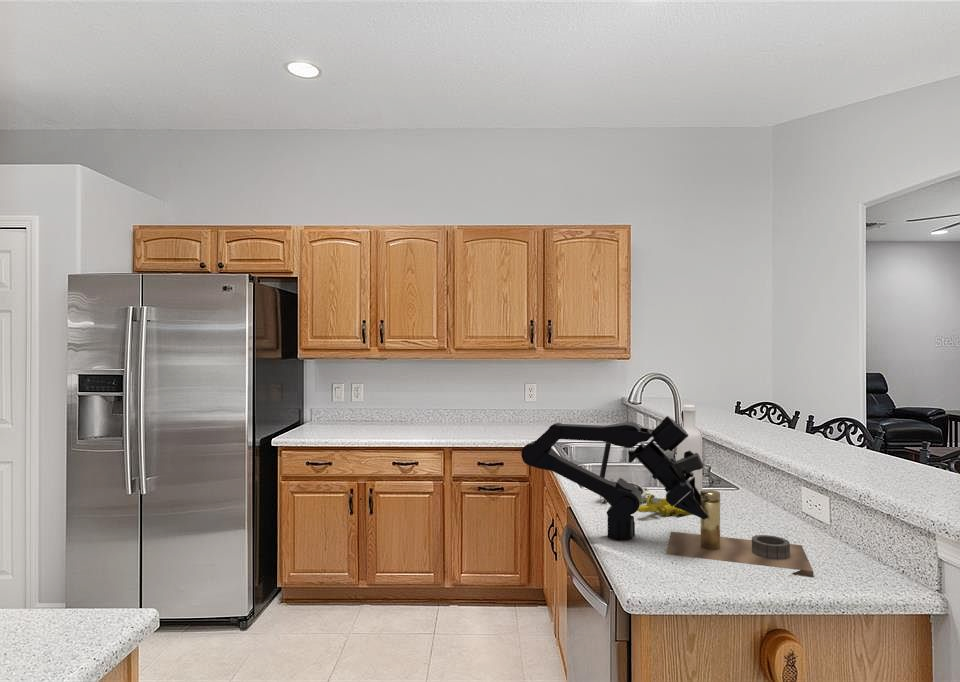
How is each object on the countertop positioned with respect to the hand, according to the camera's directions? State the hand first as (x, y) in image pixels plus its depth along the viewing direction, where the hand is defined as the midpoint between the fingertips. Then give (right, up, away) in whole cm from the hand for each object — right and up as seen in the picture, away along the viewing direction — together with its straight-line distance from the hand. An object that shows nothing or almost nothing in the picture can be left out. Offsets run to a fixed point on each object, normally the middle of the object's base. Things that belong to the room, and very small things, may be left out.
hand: (706, 512), depth 145 cm
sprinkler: (+3, -10, +30) cm, 32 cm away
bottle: (+13, -10, +49) cm, 52 cm away
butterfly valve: (-9, -10, +46) cm, 48 cm away
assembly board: (+6, -9, -2) cm, 11 cm away
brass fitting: (+1, -8, 0) cm, 8 cm away
